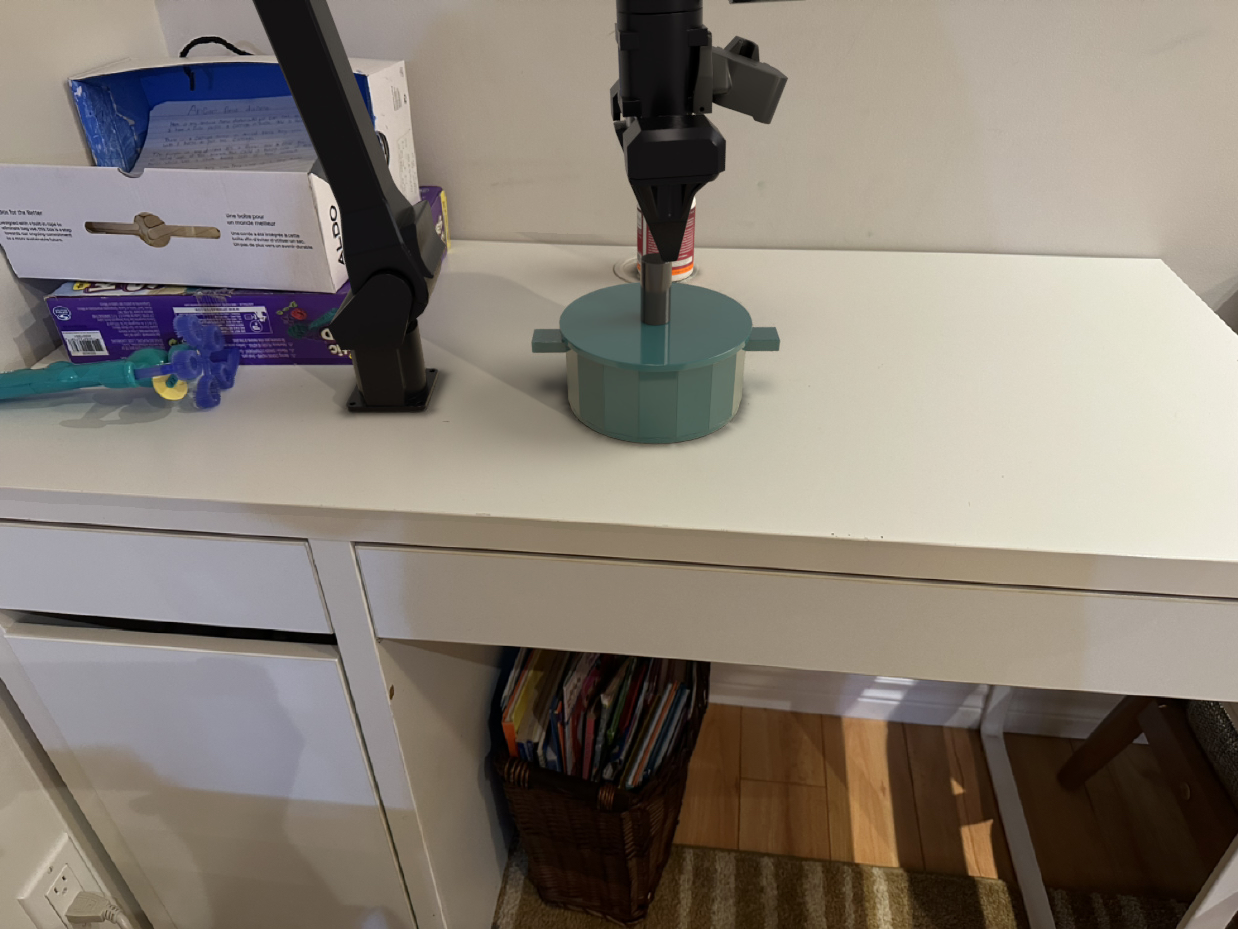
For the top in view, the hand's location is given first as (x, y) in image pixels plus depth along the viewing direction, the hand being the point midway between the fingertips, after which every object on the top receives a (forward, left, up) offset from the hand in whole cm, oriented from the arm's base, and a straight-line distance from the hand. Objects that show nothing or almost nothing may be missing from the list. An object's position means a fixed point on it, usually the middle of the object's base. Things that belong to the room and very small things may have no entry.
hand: (662, 238), depth 64 cm
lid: (-2, +1, -7) cm, 7 cm away
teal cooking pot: (-2, +1, -13) cm, 13 cm away
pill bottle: (+25, -1, -13) cm, 29 cm away
